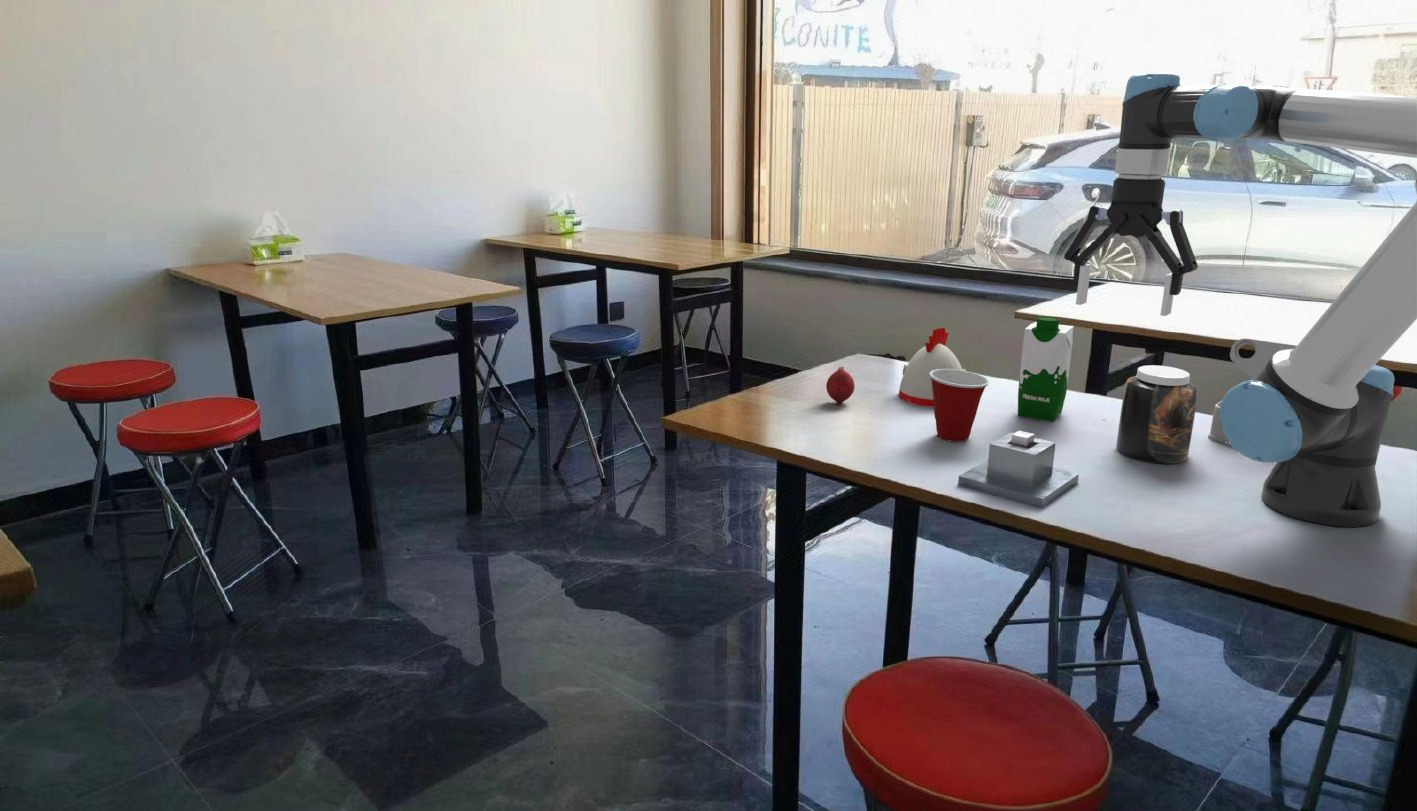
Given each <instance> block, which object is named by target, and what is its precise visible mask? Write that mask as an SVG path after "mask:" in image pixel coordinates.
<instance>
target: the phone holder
mask: <svg viewBox="0 0 1417 811" xmlns="http://www.w3.org/2000/svg"><path fill="white" fill-rule="evenodd" d="M1244 345H1251V346H1252V347H1253V348H1254V351H1255V352H1254V353H1253V355H1252V356H1251V357H1249V358H1244V357H1241V356H1240V354H1239V350H1240V349H1241V347H1242V346H1244ZM1296 346H1297V345H1294V344H1289V343H1288V344H1287V343H1281V342H1273V341H1268V340H1259V339H1253V338H1240V339H1238V340H1236V341H1234V343H1233V344H1232V346H1231V348H1230V352H1229V357H1230V360H1231V361H1232V362H1233V363H1234V364H1235V365H1236V366H1237V367H1238V369H1240V370H1241V371H1242V372H1244V373H1245V375H1247V376H1248V377H1249V378H1250V379H1251V380H1253V379H1254V378H1255V377H1256V376H1257V375H1258V374H1259V373H1260V371H1261V370H1262V369H1263V368H1264V366H1265V365H1266V364H1267V363H1268V362H1269V360H1270V359H1271V358H1272V357H1273V356H1274V355H1275V354H1276V353H1277V352H1278V351H1281V350H1288V349H1295V348H1296ZM1221 402H1222V400H1221V401H1219V402H1218V403H1216V404H1215V405H1214V408H1213V415H1212V420H1211V427H1210V432H1209V433H1208V435H1207V438H1209V439H1208V440H1210V439H1211V440H1210V441H1213V440H1215V441H1214V442H1217V441H1219V443H1222V442H1227V443H1229V442H1228V440H1227V438H1226V437H1225V435H1224V433H1223V430H1222V421H1221V420H1220V406H1221ZM1227 443H1226V444H1227Z"/></svg>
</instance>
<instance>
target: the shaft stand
mask: <svg viewBox="0 0 1417 811" xmlns="http://www.w3.org/2000/svg"><path fill="white" fill-rule="evenodd" d="M1013 433H1014V434H1012V440H1011V445H1015V446H1019V447H1023V448H1027V449H1030V448H1032V447H1033V445H1034V438H1035V433H1032V432H1027V431H1022V430H1016V432H1013ZM987 468H988V459H987V460H985V461H983V462H981V463H980V464H978V465H976V466H974V467H971V469H969V470H967V471H965V472H963V473H961V474H960V475H958V482H957V485H958V486H962V487H965V488H968V489H972V490H976V491H980V492H983V493H986V494H990V495H995V496H998V497H1002V498H1004V499H1008V500H1011V501H1015V502H1018V503H1019V502H1020V503H1023V504H1026V505H1030V506H1032V507H1033V506H1034V507H1036V508H1040V509H1043V508H1044V507H1045V506H1046V505H1048V504H1050V503H1051V502H1052V501H1054V500H1055V499H1057V498H1058V497H1059V496H1061V495H1062V494H1064V493H1066V491H1068V490H1069V489H1072V487H1074V486H1075V485H1076V484H1078V482H1079V476H1080V474H1079V473H1075V472H1072V471H1068V470H1065V469H1060V468H1056V467H1053V470H1052V475H1051V476H1049V477H1048V478H1046V479H1044V480H1043V481H1041V482H1040V483H1038V484H1037V485H1035V486H1034V487H1032V488H1031V487H1027V486H1023V485H1020V484H1016V483H1012V482H1009V481H1005V480H1001V479H997V478H994V477H990V476H987Z"/></svg>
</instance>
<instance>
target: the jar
mask: <svg viewBox="0 0 1417 811" xmlns="http://www.w3.org/2000/svg"><path fill="white" fill-rule="evenodd" d="M1190 377H1191V375H1190V372H1188V371H1186V370H1184V369H1181V368H1177V367H1174V366H1167V365H1155V364H1152V365H1151V364H1150V365H1142V366H1139V367H1138V368H1137V373H1136V375H1134V376H1131V377H1129V378H1127V380H1126V382H1125V385H1124V389H1123V397H1122V402H1121V410H1120V415H1119V416H1120V417H1119V423H1118V430H1117V438H1116V449H1117V451H1118V452H1119V453H1120V454H1122V455H1124V456H1126V457H1128V458H1131V459H1134V460H1137V461H1140V462H1145V463H1151V464H1158V465H1159V464H1160V465H1161V464H1162V465H1174V464H1180V463H1184V462H1186V461H1187V459H1188V457H1189V452H1190V446H1191V441H1192V440H1191V439H1192V434H1193V428H1194V423H1195V415H1196V409H1197V408H1196V407H1197V402H1198V401H1197V400H1198V388H1197V386H1196V385H1195V384H1193V383H1192V382H1190Z"/></svg>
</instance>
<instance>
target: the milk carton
mask: <svg viewBox="0 0 1417 811" xmlns="http://www.w3.org/2000/svg"><path fill="white" fill-rule="evenodd" d="M1074 328H1075V327H1074V325H1065V324H1060V318H1058V317H1054V316H1039V317H1037V318H1036V321H1034V322H1033V323H1030V324H1029V325H1028V326H1027V327H1025V329H1024V334H1023V343H1022V350H1021V360H1020V371H1019V381H1018V387H1017V388H1018V390H1017V417H1022V418H1028V419H1036V420H1038V421H1039V420H1041V421H1045V422H1046V421H1047V422H1053V423H1054V422H1055V421H1056V420H1057V418H1058V417H1059V416H1060V415H1061V414H1062V411H1063V408H1064V403H1065V400H1066V396H1067V391H1068V383H1069V382H1068V381H1069V377H1070V376H1069V375H1070V366H1071V357H1072V347H1073V335H1074Z"/></svg>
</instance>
